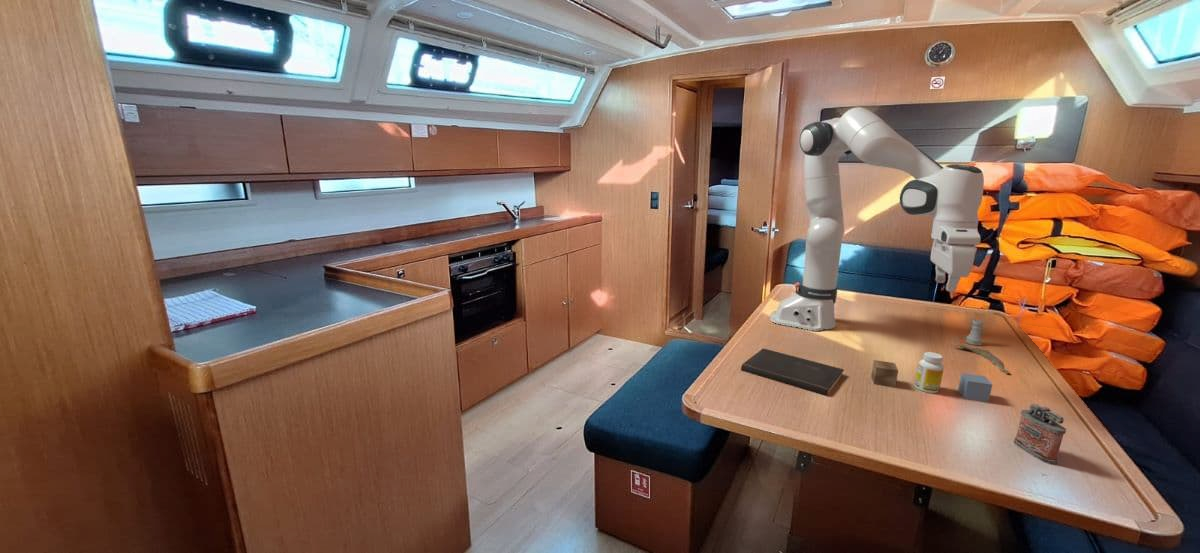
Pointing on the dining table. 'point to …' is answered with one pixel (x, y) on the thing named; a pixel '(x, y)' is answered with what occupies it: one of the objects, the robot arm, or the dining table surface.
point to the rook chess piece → (975, 333)
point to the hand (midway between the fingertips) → (945, 286)
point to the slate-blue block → (975, 387)
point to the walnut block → (884, 373)
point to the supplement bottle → (929, 373)
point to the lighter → (1040, 433)
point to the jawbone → (987, 355)
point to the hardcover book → (793, 371)
